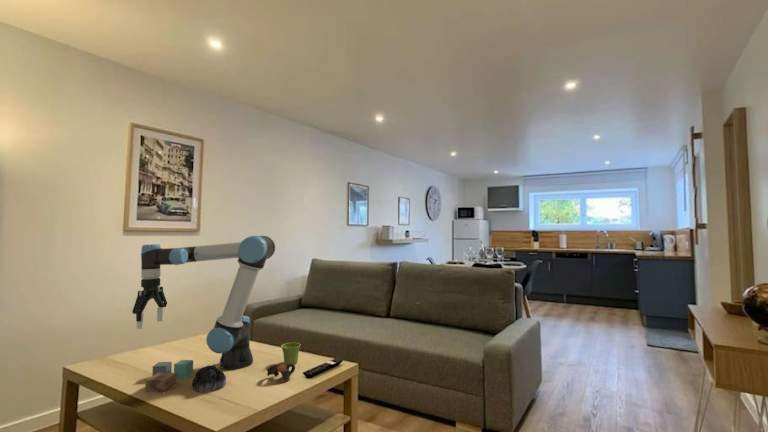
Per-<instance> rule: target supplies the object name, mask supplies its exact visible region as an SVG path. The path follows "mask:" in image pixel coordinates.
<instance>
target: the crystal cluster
mask: <svg viewBox="0 0 768 432" xmlns="http://www.w3.org/2000/svg"><path fill="white" fill-rule="evenodd" d="M225 386H227V375H226V374H225V373H224V371H223V370H221V369H220V368H219V367H218V366H217V365H216V364H212V365H206V366H202V367H201V368H200V369H198V370H197V371H195V376H193V379H192V381H191V387H192V388H193V390H194V391H197V392H199V393H207V392H212V391H216V390H219V389H221V388H223V387H225Z"/></svg>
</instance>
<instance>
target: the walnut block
mask: <svg viewBox="0 0 768 432" xmlns="http://www.w3.org/2000/svg"><path fill="white" fill-rule="evenodd" d="M152 375H153V374H152ZM177 379H178V378H177V373H174V372H171V373H157V374H155V375H153V376H150V377H149V378H147V379H145V386H144V387H145V388H144V389H145V390H144V391H145V393H163V392H165V393H167V392H168V391H169V390H170V389H172V388H174V387H175V386H177Z"/></svg>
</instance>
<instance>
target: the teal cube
mask: <svg viewBox="0 0 768 432" xmlns="http://www.w3.org/2000/svg"><path fill="white" fill-rule="evenodd" d="M173 373H177V379H186V378H187V379H188V377H190V376H192V375H193V374H194V360H193V359H181V360H179V361H177V362H176V363H174V364H173Z"/></svg>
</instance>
